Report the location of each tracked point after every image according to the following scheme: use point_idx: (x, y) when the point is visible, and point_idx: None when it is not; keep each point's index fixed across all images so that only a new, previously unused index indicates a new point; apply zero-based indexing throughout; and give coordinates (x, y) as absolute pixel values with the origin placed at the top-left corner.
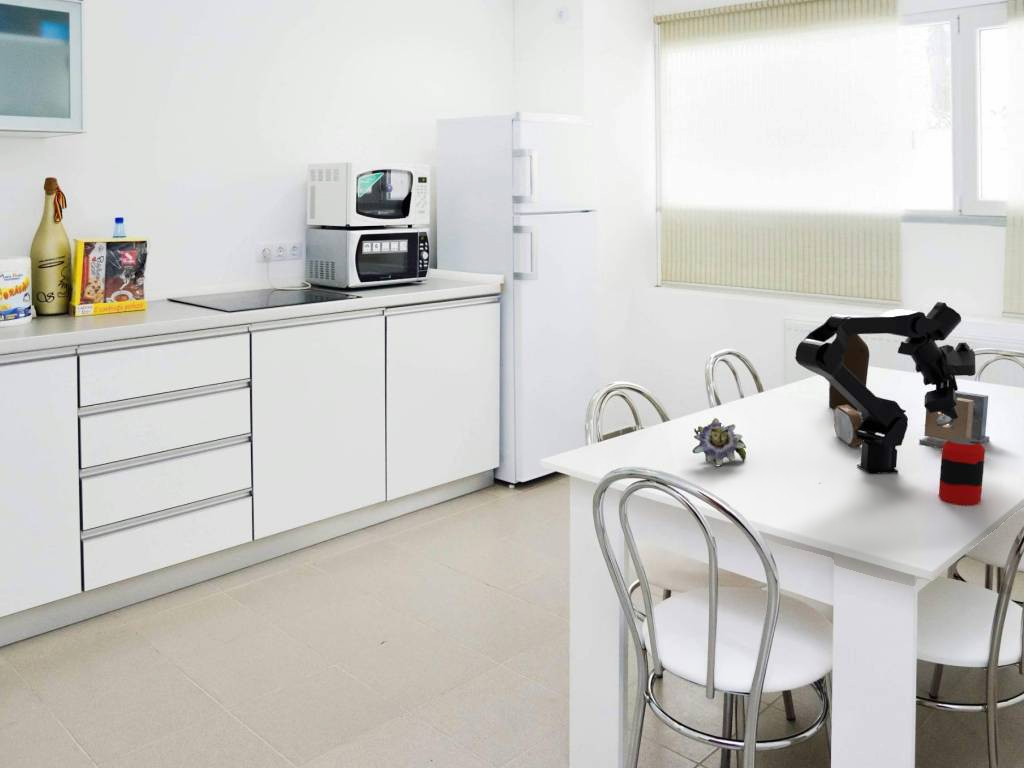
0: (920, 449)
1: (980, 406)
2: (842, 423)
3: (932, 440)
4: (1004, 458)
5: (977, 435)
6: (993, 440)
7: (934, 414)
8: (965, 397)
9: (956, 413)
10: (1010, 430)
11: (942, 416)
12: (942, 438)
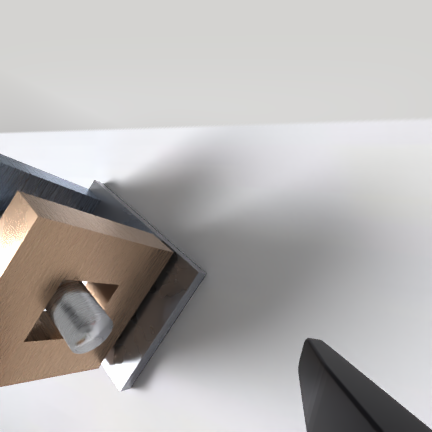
0: (195, 410)
1: (8, 176)
2: None
3: (129, 348)
4: (263, 152)
5: (92, 207)
6: (100, 174)
7: (38, 352)
8: None
9: (373, 382)
10: (40, 140)
11: (77, 335)
12: (129, 317)
